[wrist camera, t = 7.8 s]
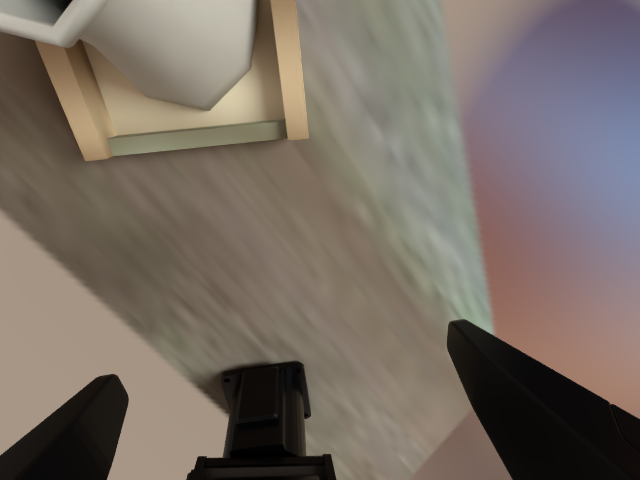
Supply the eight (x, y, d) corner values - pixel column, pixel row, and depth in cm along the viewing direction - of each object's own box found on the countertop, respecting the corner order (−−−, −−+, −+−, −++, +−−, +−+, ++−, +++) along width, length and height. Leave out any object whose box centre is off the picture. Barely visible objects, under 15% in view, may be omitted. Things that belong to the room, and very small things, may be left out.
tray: (305, 130, 18) (308, 138, 16) (110, 150, 17) (85, 161, 15) (276, -163, 13) (275, -211, 10) (-3, -146, 12) (-65, -194, 10)
